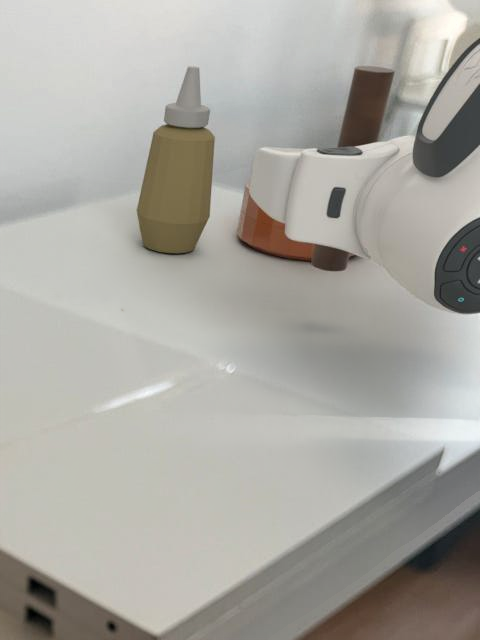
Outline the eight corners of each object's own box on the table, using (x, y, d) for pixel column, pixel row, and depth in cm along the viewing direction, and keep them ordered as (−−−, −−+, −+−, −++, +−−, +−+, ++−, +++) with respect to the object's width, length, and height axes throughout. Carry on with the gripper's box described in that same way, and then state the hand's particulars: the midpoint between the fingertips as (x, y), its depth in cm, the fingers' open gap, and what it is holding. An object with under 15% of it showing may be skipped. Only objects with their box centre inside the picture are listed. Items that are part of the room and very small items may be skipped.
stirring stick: (340, 261, 96) (387, 66, 86) (351, 272, 93) (400, 73, 84) (306, 260, 96) (349, 65, 86) (316, 270, 93) (362, 71, 84)
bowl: (341, 228, 126) (354, 176, 123) (381, 266, 114) (396, 209, 111) (224, 224, 125) (233, 171, 122) (252, 261, 114) (263, 204, 110)
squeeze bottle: (133, 234, 120) (154, 58, 109) (203, 240, 119) (231, 64, 109) (131, 254, 114) (153, 70, 103) (204, 261, 113) (234, 76, 102)
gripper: (551, 163, 78) (476, 126, 89) (285, 151, 76) (243, 115, 87) (522, 249, 81) (453, 203, 93) (268, 239, 80) (229, 194, 91)
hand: (349, 160), depth 90 cm, fingers closed on stirring stick, 3 cm apart
